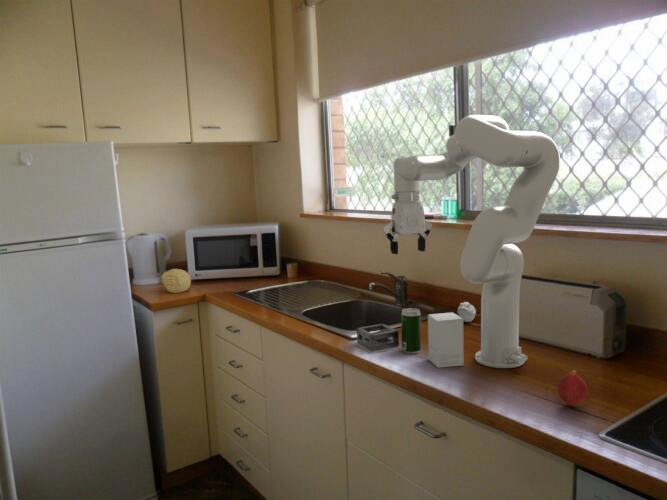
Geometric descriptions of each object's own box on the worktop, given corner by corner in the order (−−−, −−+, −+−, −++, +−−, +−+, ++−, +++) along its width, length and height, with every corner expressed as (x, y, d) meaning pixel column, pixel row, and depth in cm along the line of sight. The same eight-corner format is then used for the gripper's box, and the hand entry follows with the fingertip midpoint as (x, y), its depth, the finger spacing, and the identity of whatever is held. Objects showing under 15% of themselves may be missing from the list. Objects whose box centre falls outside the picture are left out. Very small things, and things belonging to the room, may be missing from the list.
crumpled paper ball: (453, 323, 178) (453, 302, 177) (462, 318, 183) (462, 298, 182) (471, 325, 174) (471, 305, 173) (479, 320, 180) (479, 300, 179)
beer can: (410, 355, 148) (410, 313, 146) (398, 350, 152) (397, 310, 150) (425, 351, 151) (424, 310, 149) (412, 347, 155) (411, 306, 153)
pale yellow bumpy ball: (159, 293, 241) (157, 270, 240) (176, 288, 252) (174, 265, 251) (179, 295, 237) (177, 271, 235) (196, 289, 248) (194, 266, 246)
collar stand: (400, 347, 155) (399, 331, 154) (371, 353, 151) (370, 336, 150) (383, 339, 163) (383, 323, 163) (355, 344, 159) (355, 327, 159)
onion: (557, 410, 111) (558, 373, 110) (556, 399, 117) (557, 364, 115) (588, 413, 109) (589, 376, 108) (586, 402, 114) (587, 366, 113)
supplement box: (464, 365, 139) (464, 318, 137) (437, 368, 137) (436, 320, 136) (453, 356, 146) (453, 311, 144) (427, 358, 145) (427, 313, 143)
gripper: (388, 199, 158) (389, 256, 160) (437, 196, 164) (438, 251, 167) (376, 198, 165) (378, 253, 167) (424, 196, 171) (425, 248, 173)
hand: (408, 252), depth 167 cm, fingers open, 9 cm apart
